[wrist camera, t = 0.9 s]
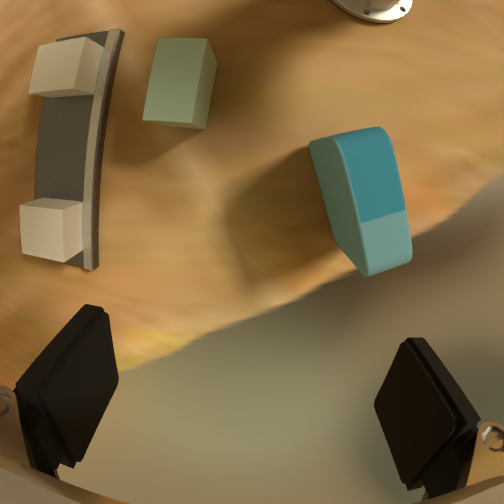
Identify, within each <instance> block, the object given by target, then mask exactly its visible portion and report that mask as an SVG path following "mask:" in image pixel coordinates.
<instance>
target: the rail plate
mask: <svg viewBox="0 0 504 504" xmlns="http://www.w3.org/2000/svg"><path fill="white" fill-rule="evenodd" d="M124 34H125V33H124V32H123V31H122V30H119V29H109V31H104V32H96V33H89V34H83V35H77V36H71V37H66V38H61V39H57V41H56V42H59V41H64V40H69V39H75V38H81V37H87V38H89V39H91V40H92V41H94V42H96V43H97V44H99V45H101V46H102V47H104V51H103V56H102V60H101V64H100V69H99V73H98V78H97V83H96V88H95V94H94V95H79V96H66V97H55V98H50V97H44V98H43V104H42V111H41V118H40V126H39V134H38V144H37V157H36V175H35V200H36V199H39V198H53V199H63V200H72V201H81V202H83V250H82V251H81V252H79V253H78V254H76V255H75V256H73V257H72V258H70V259H69V260H67V261H66V262H62V263H67V264H71V265H76V266H81V267H84V269H87V270H93V269H96V268H97V267H98V266H99V251H98V227H99V196H100V180H101V167H102V156H103V146H104V138H105V130H106V123H107V116H108V109H109V103H110V97H111V92H112V86H113V81H114V76H115V71H116V67H117V62H118V58H119V53H120V49H121V45H122V41H123V38H124ZM39 258H40V257H39ZM43 259H45V258H43ZM48 260H50V259H48ZM53 261H54V260H53ZM57 262H59V261H57Z"/></svg>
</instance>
